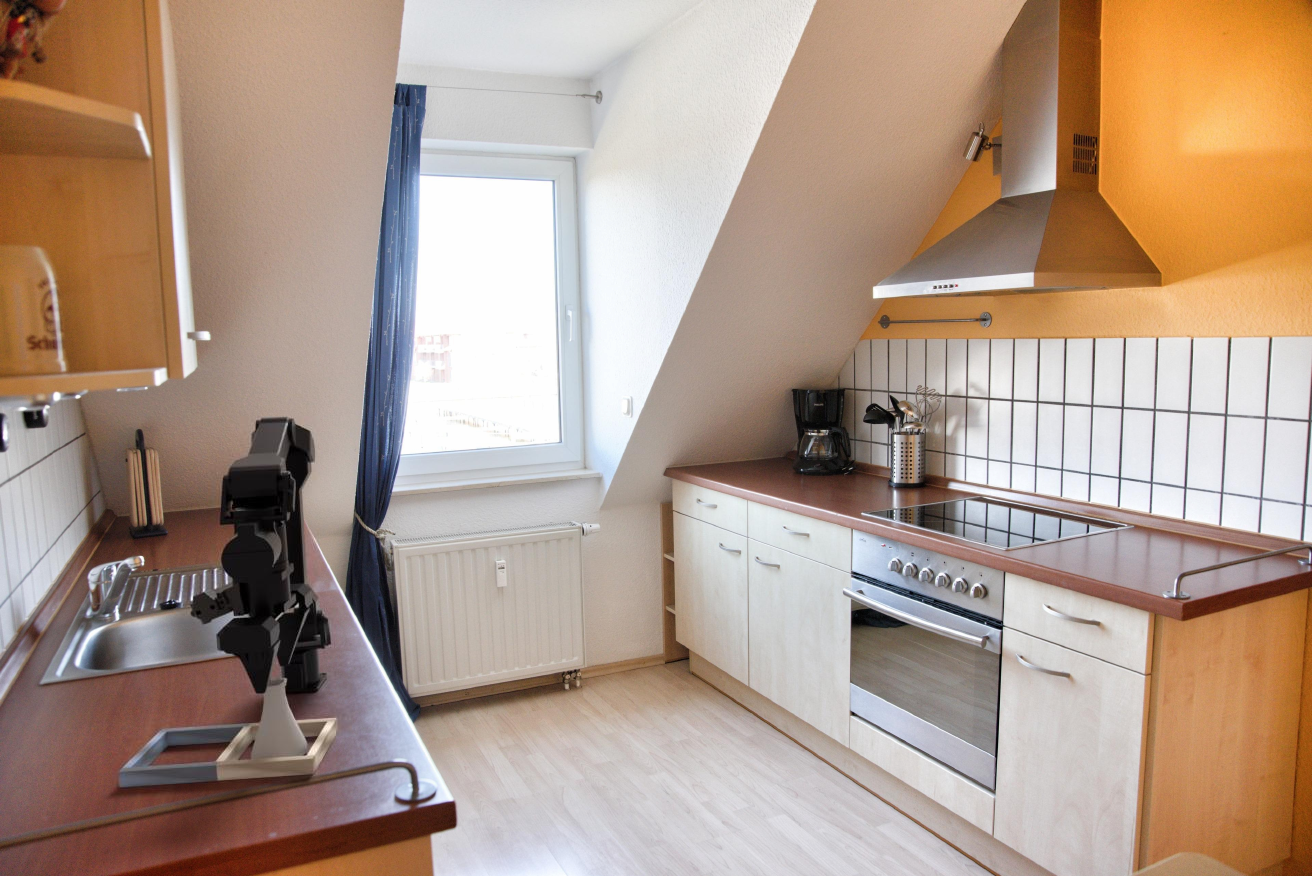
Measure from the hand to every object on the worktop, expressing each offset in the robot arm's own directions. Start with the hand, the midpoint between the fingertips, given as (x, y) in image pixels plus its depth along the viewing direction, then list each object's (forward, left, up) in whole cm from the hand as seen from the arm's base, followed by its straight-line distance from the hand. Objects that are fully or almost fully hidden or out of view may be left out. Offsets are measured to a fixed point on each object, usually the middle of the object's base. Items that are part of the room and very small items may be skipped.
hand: (273, 678), depth 116 cm
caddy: (0, -5, -10) cm, 12 cm away
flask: (0, 0, -11) cm, 11 cm away
